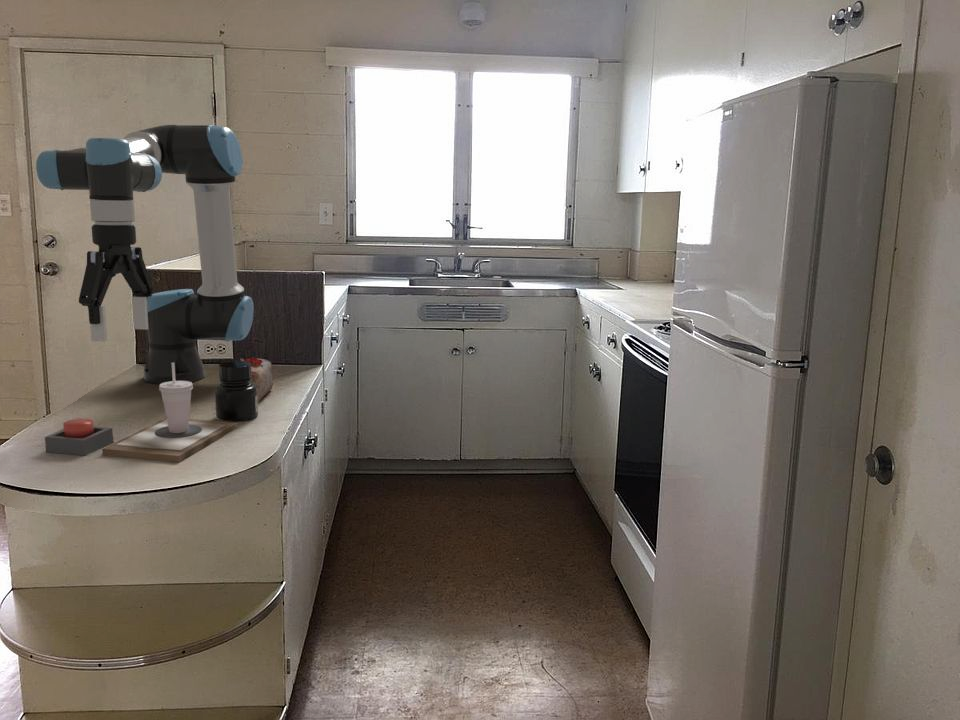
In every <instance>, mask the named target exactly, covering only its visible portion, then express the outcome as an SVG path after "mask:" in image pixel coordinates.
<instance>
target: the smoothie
mask: <svg viewBox="0 0 960 720" xmlns="http://www.w3.org/2000/svg"><path fill="white" fill-rule="evenodd" d="M172 378H173V381H169V382H165V383H162V384H159V385H158V386H159V387H158V391H159V392H161V397H162V399H161V400H162V403H163V407H164V412H165V413H164V414H165V417H166V418H167V423H168V428H169V432H171V433H182V432H186V431H188V430H189V419H190V412H191V399H192V398H191V397H192V390H193V389H194V386H193V383H192V381H191V382H189V381H176V379H175V363H172Z"/></svg>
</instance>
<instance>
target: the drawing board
mask: <svg viewBox="0 0 960 720" xmlns="http://www.w3.org/2000/svg"><path fill="white" fill-rule="evenodd" d="M237 427H238V426H237V422H233V421H220V420H219V421H218V420H206V419H205V420H204V419H193V418H189V430H188V431H186V432H182V433H171V432H169V428H168V423H167V418H164V419H161V420H159V421H157V422H155V423H153V424H151V425H149V426H147V427H145V428H143V429H141V430H138V431H137V432H135V433H134V432H133V433H132V434H130V435H128V436H126V437H123V438H121V439H120V440H118V441H116V442H115V441H114V442H113V443H111V444H109V445H107V446H104V447H102V448H101V449H102V455H103V456H108V457H109V456H110V457H111V456H112V457H123V458H132V459H134V458H135V459H143V460H155V461H166V462H176V463H181V462H183V461H184V460H186V459H187V458H189V457H190V456H193V455H194V454H196V453H197V452H199V451H201V450H203V449H204V448H206V447H208V446H210V445H211V444H212V443H214V442H216V441H218V440H219V439H221V438H223V437H224V436H226V435H228V434H230V433H231V432H233V431H234V430H236V429H237Z"/></svg>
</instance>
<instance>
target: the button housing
mask: <svg viewBox="0 0 960 720" xmlns="http://www.w3.org/2000/svg"><path fill="white" fill-rule="evenodd" d="M44 443H45V452H46V453H52V454H53V453H54V454H65V455H74V456H87V455H89V454H90V455H91V454H92V453H94V452H96V451H98V450H100V449H103V448H105V447H107V446H109V445H111V444H113V443H114V433H113V427H107V426H97V425H96V426H95V425H94V434H92V435H90V436H87V437H83V438H72V437H65V436H64V428H63V429H60V430H58V431H56V432H53V433H51V434H48V435H46V436H44Z"/></svg>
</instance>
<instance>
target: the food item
mask: <svg viewBox="0 0 960 720" xmlns="http://www.w3.org/2000/svg"><path fill="white" fill-rule="evenodd" d="M239 361H244V362H249V363H251V378H252V379H251V381H250V382H252V384H253V385H255V386H256V388H257V398H258V403H259V402H260V401H261V400H262V399H263V398H264V397H265V396H266V395H267V394H268V393H269V392H270V391H271V390H272V389H273V384H274V381H273V367H272V362H271V361H269V360H268V359H263V358H257V357H255V356H253V357H251V358H248V359H247V358H246V359H244V358H243V357H241V358H240V359H239Z"/></svg>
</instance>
